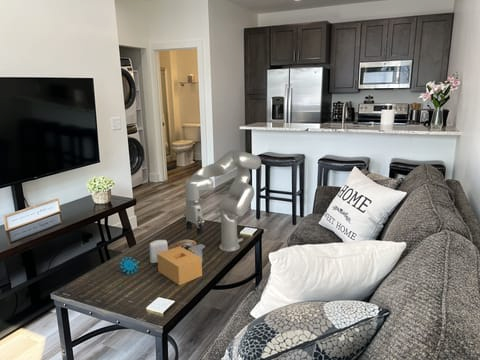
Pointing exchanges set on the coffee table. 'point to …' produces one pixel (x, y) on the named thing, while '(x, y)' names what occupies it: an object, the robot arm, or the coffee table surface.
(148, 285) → the coffee table surface
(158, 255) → the tissue box
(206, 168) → the robot arm
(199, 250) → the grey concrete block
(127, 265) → the gear
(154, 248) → the photo printer
